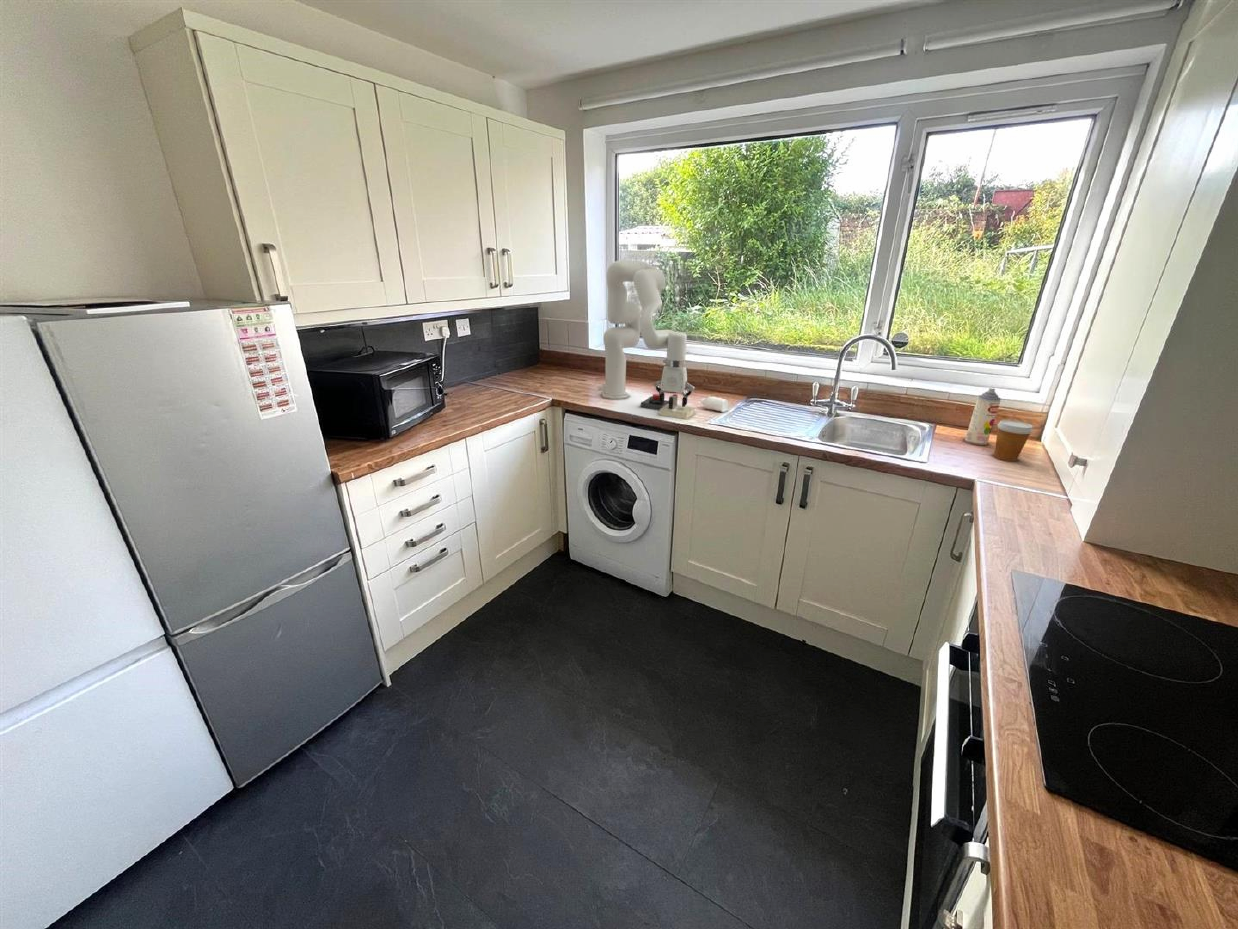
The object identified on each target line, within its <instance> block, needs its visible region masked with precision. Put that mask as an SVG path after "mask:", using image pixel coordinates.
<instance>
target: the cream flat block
mask: <svg viewBox="0 0 1238 929" xmlns="http://www.w3.org/2000/svg"><path fill="white" fill-rule="evenodd" d="M668 408H669V404H667V405H665V406H663V407H662V408H661V409H660V410H658V411H659V413H658V415H659V416H663V417H671V418H677V419H685V420H688V419H689V418H691V417H692V415H694V414H695V409H696V407H693V406H687V405H686V406H684V407H682V405H679V404H677V407H675V408H674V409H668Z"/></svg>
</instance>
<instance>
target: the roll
mask: <svg viewBox="0 0 1238 929" xmlns="http://www.w3.org/2000/svg"><path fill="white" fill-rule="evenodd" d="M699 402H700V403H701V404H702V405H703V406H704V408H706V409H708V410H712V411H717V412H721V413H725V412H726V411H727V409H728V408H729V400H728V399H724V398H721V397H716V396H707V397H704V398H700V399H699Z"/></svg>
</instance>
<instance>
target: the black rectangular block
mask: <svg viewBox="0 0 1238 929" xmlns="http://www.w3.org/2000/svg"><path fill="white" fill-rule="evenodd" d="M678 397H679V396H678V393H673V394H672V395H670V396H668V401H669V408H668V409H674V408H675V407H677V405H678V399H679V398H678Z"/></svg>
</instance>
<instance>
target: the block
mask: <svg viewBox="0 0 1238 929" xmlns="http://www.w3.org/2000/svg"><path fill="white" fill-rule="evenodd" d="M667 404H669V400H667V399H666V400H665V399H664V403H662V404H660V401H659V399H653V395H652V396H651V395H650V396H649V397H648V398H646V399H644V400H643V401H641V403H640V408H644V409H651V410H658V411H660V409H661V408H662V407H663V406H665V405H667Z"/></svg>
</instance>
